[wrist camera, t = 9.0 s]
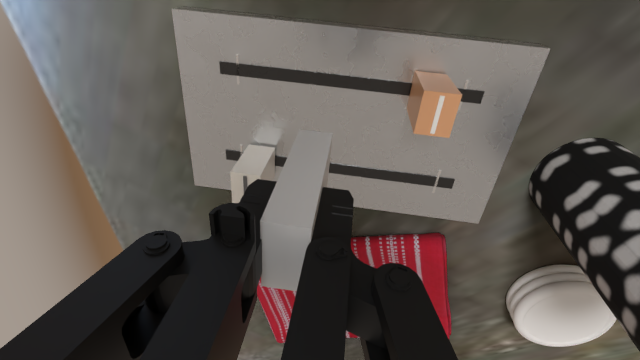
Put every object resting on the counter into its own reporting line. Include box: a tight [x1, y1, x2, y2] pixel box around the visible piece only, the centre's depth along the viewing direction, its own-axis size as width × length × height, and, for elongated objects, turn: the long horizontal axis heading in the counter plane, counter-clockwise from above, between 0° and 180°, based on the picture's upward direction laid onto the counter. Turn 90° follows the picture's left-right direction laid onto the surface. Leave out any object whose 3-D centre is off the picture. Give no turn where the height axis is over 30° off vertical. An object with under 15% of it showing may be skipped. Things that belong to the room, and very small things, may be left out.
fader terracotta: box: [407, 71, 462, 138], centre depth 25 cm, size 3×2×5 cm
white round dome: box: [506, 264, 616, 347], centre depth 38 cm, size 10×10×4 cm
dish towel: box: [257, 233, 451, 343], centre depth 42 cm, size 17×24×3 cm
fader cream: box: [230, 144, 275, 203], centre depth 30 cm, size 3×2×5 cm
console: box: [172, 6, 550, 224], centre depth 30 cm, size 16×28×2 cm, turn 85°
